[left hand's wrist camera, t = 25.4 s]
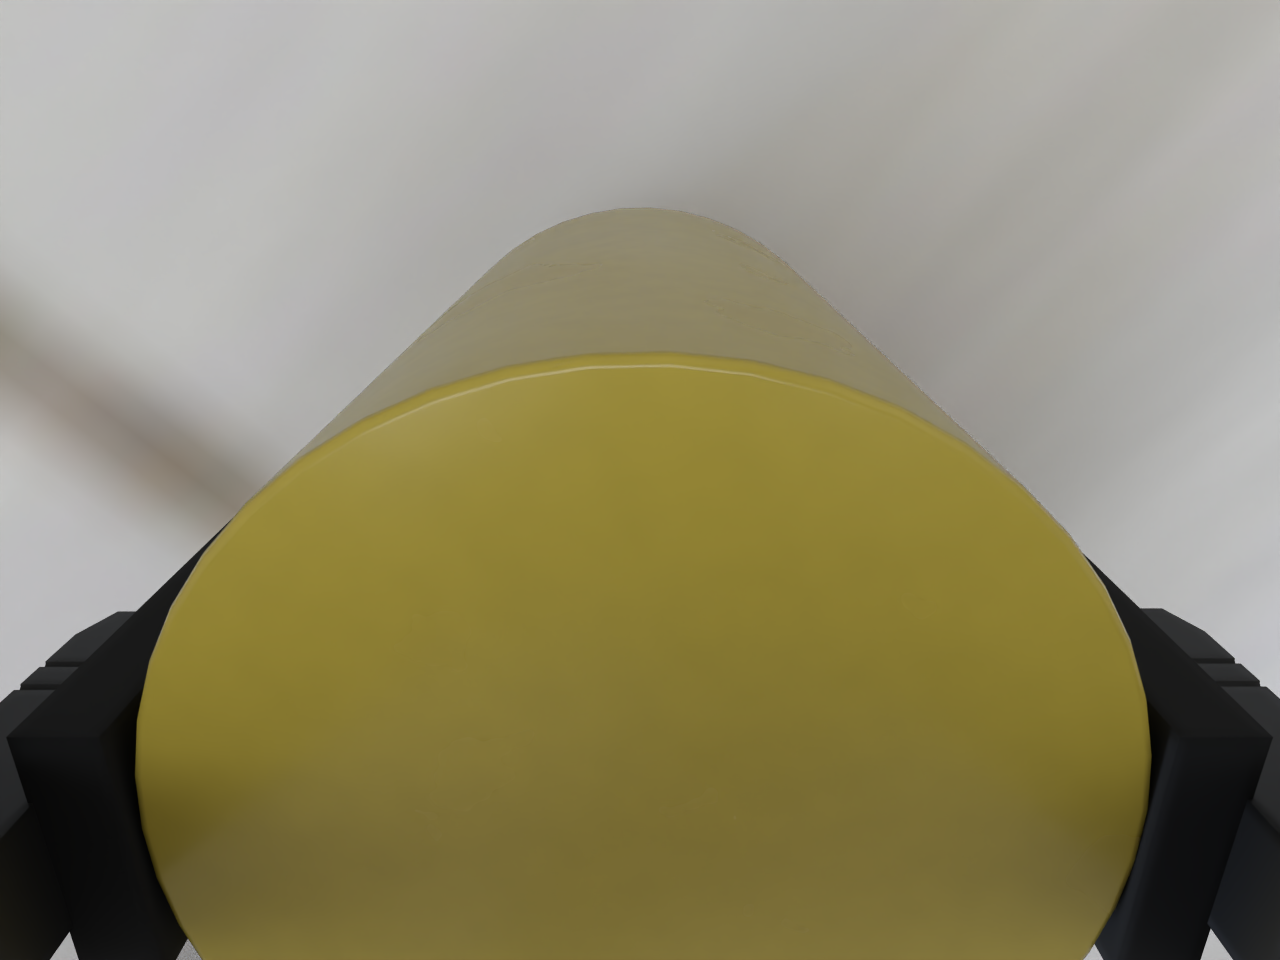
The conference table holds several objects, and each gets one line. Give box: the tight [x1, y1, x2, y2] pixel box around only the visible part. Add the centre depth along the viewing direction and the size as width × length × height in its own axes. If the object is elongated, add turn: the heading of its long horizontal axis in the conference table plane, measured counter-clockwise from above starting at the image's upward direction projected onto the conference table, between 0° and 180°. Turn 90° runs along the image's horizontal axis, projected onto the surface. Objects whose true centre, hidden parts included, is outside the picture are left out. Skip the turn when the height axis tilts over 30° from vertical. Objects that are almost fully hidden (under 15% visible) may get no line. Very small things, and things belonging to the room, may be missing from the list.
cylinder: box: [135, 208, 1152, 960], centre depth 13 cm, size 9×9×12 cm
